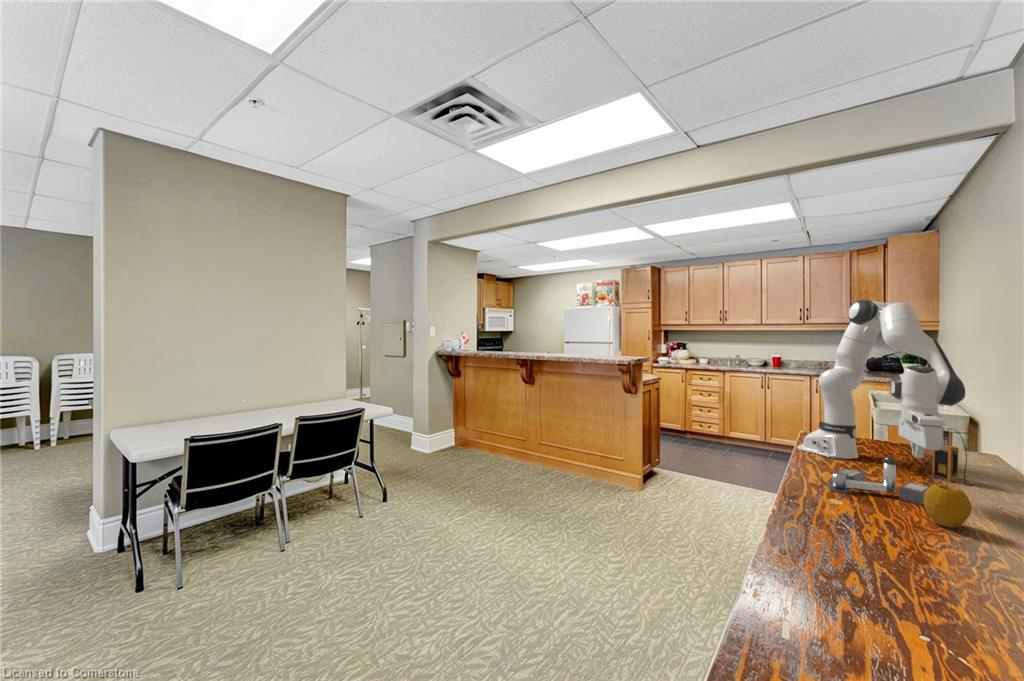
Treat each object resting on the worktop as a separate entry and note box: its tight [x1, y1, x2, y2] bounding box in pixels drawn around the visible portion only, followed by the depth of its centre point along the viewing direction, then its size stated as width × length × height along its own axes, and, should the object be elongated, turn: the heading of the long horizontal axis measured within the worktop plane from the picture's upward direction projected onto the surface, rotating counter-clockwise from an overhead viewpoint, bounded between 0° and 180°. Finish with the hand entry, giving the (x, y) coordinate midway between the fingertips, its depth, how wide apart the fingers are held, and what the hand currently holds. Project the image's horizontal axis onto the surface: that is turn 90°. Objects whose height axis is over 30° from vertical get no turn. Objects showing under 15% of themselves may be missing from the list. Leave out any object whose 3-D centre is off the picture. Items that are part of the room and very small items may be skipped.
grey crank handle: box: [831, 456, 897, 494], centre depth 148 cm, size 18×4×12 cm, turn 68°
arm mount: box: [825, 482, 853, 495], centre depth 151 cm, size 6×6×1 cm
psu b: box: [834, 467, 867, 482], centre depth 157 cm, size 6×10×4 cm, turn 123°
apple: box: [923, 483, 973, 529], centre depth 124 cm, size 10×10×12 cm
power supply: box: [898, 481, 932, 506], centre depth 143 cm, size 6×10×4 cm, turn 123°
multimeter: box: [923, 426, 975, 487], centre depth 162 cm, size 15×10×20 cm
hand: (917, 456), depth 142 cm, fingers closed
